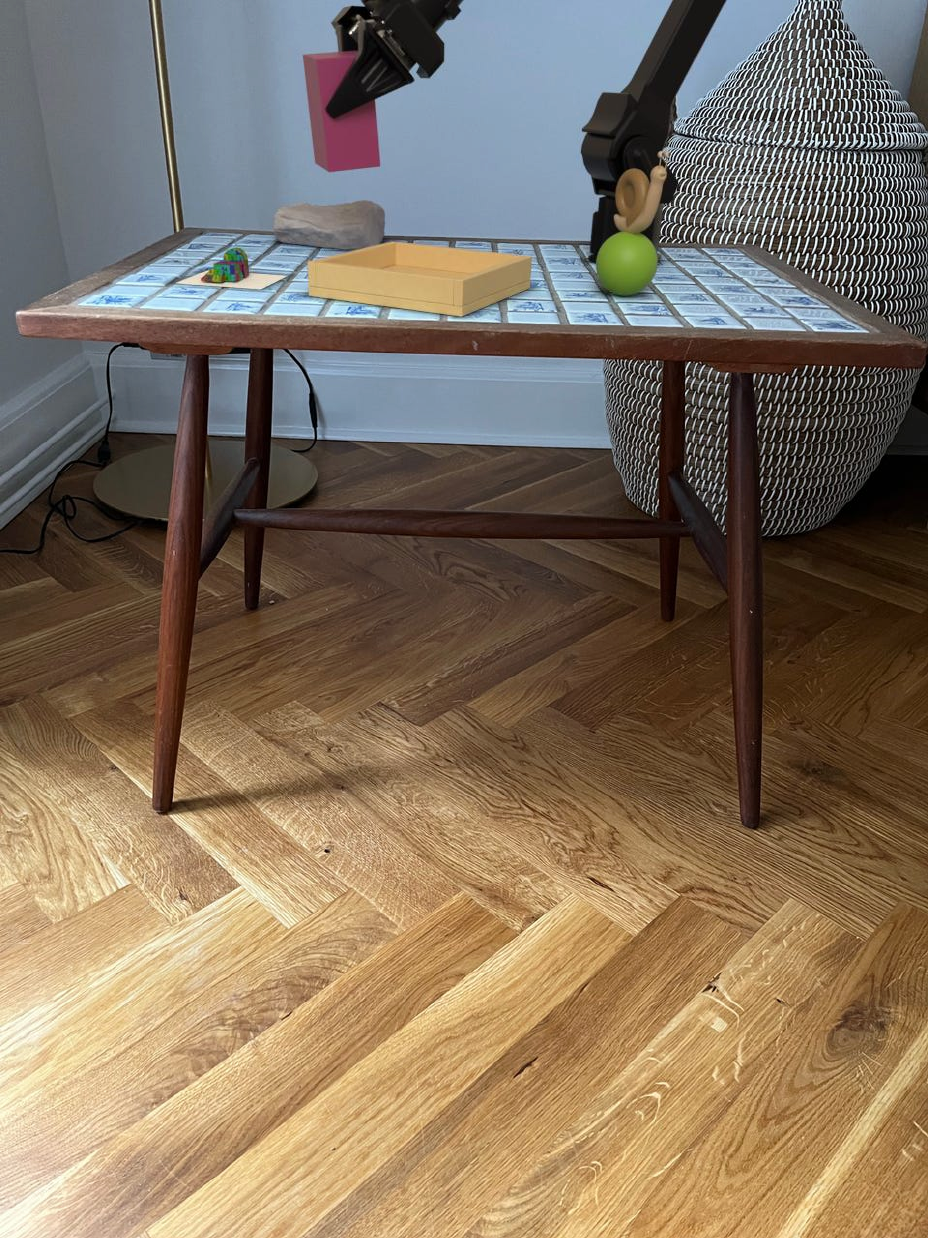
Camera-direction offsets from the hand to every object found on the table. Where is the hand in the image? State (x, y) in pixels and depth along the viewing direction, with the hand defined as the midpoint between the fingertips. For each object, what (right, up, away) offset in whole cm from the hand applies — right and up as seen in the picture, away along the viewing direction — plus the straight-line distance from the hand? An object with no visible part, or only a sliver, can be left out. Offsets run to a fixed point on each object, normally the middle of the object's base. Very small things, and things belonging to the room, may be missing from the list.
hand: (322, 112), depth 87 cm
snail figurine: (+28, -17, 0) cm, 32 cm away
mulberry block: (+2, -3, +3) cm, 5 cm away
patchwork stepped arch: (-8, -15, 0) cm, 17 cm away
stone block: (-2, -4, +21) cm, 22 cm away
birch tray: (+9, -17, -2) cm, 19 cm away
